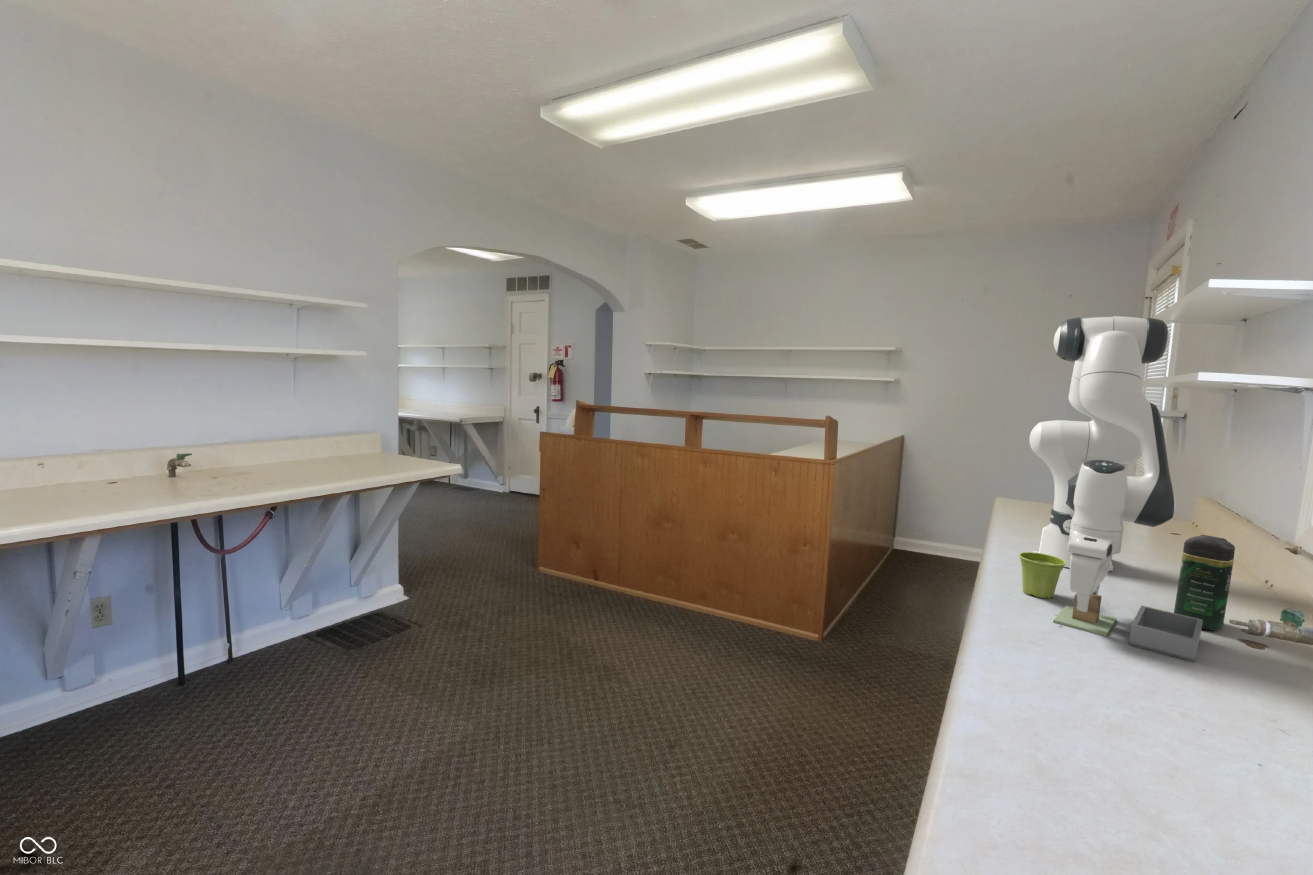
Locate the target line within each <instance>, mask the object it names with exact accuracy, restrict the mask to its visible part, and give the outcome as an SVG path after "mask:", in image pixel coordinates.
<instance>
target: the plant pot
mask: <svg viewBox="0 0 1313 875" xmlns="http://www.w3.org/2000/svg"><path fill="white" fill-rule="evenodd" d="M1018 557H1019V559H1020V563H1021V576H1022V579H1021V580H1022V591H1023V593H1025V595H1026V594H1027V595H1029V596H1030V595H1032V596H1035V597H1036V598H1040V599H1041V598H1042V599H1051V598H1052V597H1054V595H1055V591H1056V588H1057V585H1058V582H1059V579H1060V576H1061V573H1062V571H1063V569H1064V567H1063V566H1064V565H1066V561H1064V560H1063V559H1061V558H1058V557H1055V556H1051V555H1047V554H1042V553H1035V552H1033V551H1025V552H1024V551H1023V552H1020V553H1018Z"/></svg>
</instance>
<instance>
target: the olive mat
mask: <svg viewBox="0 0 1313 875" xmlns="http://www.w3.org/2000/svg"><path fill="white" fill-rule="evenodd" d="M1073 607H1074V606H1072V605H1071V606H1070V605H1065V606H1064V607H1063V609H1061V611H1060V612H1059V613H1058V614H1057V615H1056V616H1055V617H1054V619H1053V620H1052V621H1053V623H1055V624H1058V625H1062V626H1066V627H1069V628H1073V629H1077V630H1082V631H1084V632H1088V633H1092V634H1095V635H1098V636H1104V637H1108V634H1109V633H1110V631H1111V630H1112V628H1113V626H1114V624H1115V623H1116V622H1117V617H1115V616H1112V615H1111V616H1110V615H1106V614H1103V613H1099V620H1098V621H1097V622H1096V624H1092V623H1088V622H1084V621H1080V620H1076V619H1073V618H1072V615H1073Z"/></svg>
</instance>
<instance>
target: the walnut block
mask: <svg viewBox="0 0 1313 875" xmlns="http://www.w3.org/2000/svg"><path fill="white" fill-rule="evenodd" d="M1101 604H1102V595H1095V594H1092V595H1090V598H1089V609H1088V611H1087V612H1083V611H1079V610H1077V593H1076V592H1075V594H1074V600H1073V606H1072V607H1073V615H1072V618H1073V619H1076V620H1080V621H1084V622H1088V623H1092V624H1096V622H1097V621H1098V620H1099V614H1101V613H1100V611H1101Z"/></svg>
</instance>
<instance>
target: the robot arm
mask: <svg viewBox="0 0 1313 875" xmlns="http://www.w3.org/2000/svg"><path fill="white" fill-rule="evenodd" d="M1168 327H1169V326H1168V325H1167V323H1166V322H1165V321H1164V320H1162V319H1159V318H1153V317H1146V318H1142V317H1135V316H1133V317H1132V316H1119V315H1117V316H1116V315H1113V316H1098V317H1096V316H1095V317H1085V318H1081V317H1073V318H1068V319H1065V320H1063V321H1062V322H1061V323H1060V325H1059V327H1058V328H1057V330H1056V331H1055V333H1054V336H1053V348H1054V350H1055V353H1056V356H1057V357H1059V358H1060V359H1061V360H1063V361H1067V362H1071V363H1074V365H1073V370H1072V374H1071V381H1070V385H1069V391H1068V402H1069V405H1070V406H1071V407H1072V408H1074V409H1075V410H1076V411H1078V413H1079V412H1080V413H1081V414H1083V415H1086V416H1087V417H1089V418H1090V419H1091V420H1090V421H1082V420H1080V421H1079V420H1077V421H1076V420H1064V419H1062V420H1061V419H1055V420H1047V421H1046V420H1045V421H1039V422H1038V423H1037V424H1036V425H1035V426H1034V427H1032V430H1031V432H1030V434H1029V438H1028V440H1029V441H1028V442H1029V446H1030V449H1031V450H1032V452H1033V453H1034V454H1035V456H1037V457H1039V459H1041V460H1042V461H1043V462H1044V463H1045V464H1046V466H1047V468H1048V469H1049V470H1050V472H1051V475H1052V478H1053V484H1054V487H1053V488H1054V494H1053V495H1054V496H1053V507H1052V508H1051V511H1050V513H1049V521H1050V523H1049V524H1048V525H1045V526H1044V527H1042V531H1041V537H1040V543H1039V549H1035V550H1033V551H1032V552H1035V553H1042V554H1047V555H1051V556H1055V557H1058V558H1061V559H1063V560H1064V561H1066V565H1064V566H1063V568H1069V587H1070V588H1069V589H1070V591H1071V592H1073V593H1075V594H1076V593H1077V610H1079V611H1083V612H1087V611H1088V609H1089V598H1090V595H1092V594H1095V595H1098V594H1099V589H1100V586H1101V584H1102V582H1103V581H1104V579H1105V578H1106V577H1107V576H1108V575H1109V572H1114V566H1113V562H1112V559H1113V555H1117V554H1120V553H1121V551H1122V544H1123V538H1124V537H1123V536H1124V525H1123V524H1124V523H1123V522H1130V523H1133V524H1137V525H1141V526H1146V527H1151V528H1155V527H1157V526H1161V525H1163V524H1165V523H1166V522H1168V521H1170V520H1171V519H1173V518H1174V514H1175V512H1176V509H1177V498H1176V493H1175V490H1174V487H1173V484H1172V480H1171V473H1170V468H1169V466H1170V465H1169V460H1168V453H1167V452H1168V451H1167V446H1166V439H1165V432H1164V428H1163V420H1162V417H1161V413H1160V410H1159V408H1158V406H1157V405H1156V404H1154V403H1152V402H1150V401H1149V400H1148V399H1147V398H1146V396H1145V394H1144V392H1143V391H1144V390H1143V388H1142V379H1143V378H1142V375H1143V365H1145V364H1149V363H1151V364H1152V363H1155V362H1156V361H1158V360H1160V359H1162V357H1163V356H1164V354H1165V353H1166V351H1167V349H1168V348H1169V344H1170V338H1171V337H1170V331H1169V329H1168ZM1140 458H1141V459H1142V468H1143V475H1142V476H1131V475H1128V472H1127V468H1126V466H1125V465H1127V464H1135V463H1136V462H1137V461H1138V460H1140ZM1081 463H1082V464H1081ZM1080 464H1081V466H1080Z"/></svg>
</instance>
